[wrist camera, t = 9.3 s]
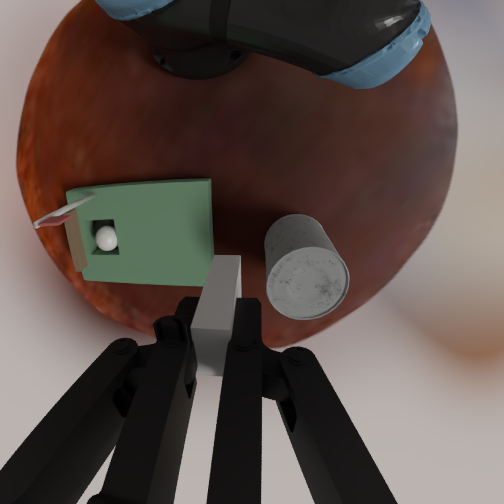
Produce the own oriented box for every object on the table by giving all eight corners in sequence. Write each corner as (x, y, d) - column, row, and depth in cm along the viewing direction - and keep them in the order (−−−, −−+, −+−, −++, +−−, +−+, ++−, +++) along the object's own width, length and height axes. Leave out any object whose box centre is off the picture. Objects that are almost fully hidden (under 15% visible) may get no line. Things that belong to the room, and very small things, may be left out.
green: (74, 188, 38) (6, 219, 23) (210, 178, 38) (179, 208, 23) (90, 273, 45) (41, 326, 30) (215, 278, 44) (196, 350, 29)
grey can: (287, 282, 44) (296, 332, 33) (251, 238, 41) (248, 279, 30) (337, 249, 42) (362, 291, 31) (304, 201, 39) (322, 229, 28)
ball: (91, 231, 36) (115, 227, 38) (95, 224, 40) (118, 221, 41) (96, 256, 38) (119, 252, 39) (99, 247, 41) (121, 244, 43)
